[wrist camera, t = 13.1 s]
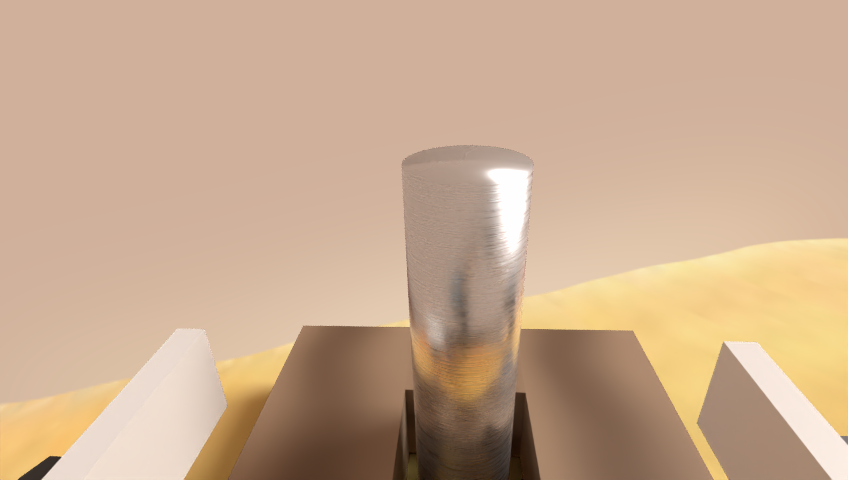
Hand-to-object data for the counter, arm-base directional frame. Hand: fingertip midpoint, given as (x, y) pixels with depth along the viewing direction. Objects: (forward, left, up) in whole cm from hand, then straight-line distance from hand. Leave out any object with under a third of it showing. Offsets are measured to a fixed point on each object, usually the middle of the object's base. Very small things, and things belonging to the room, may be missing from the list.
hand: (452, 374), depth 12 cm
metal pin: (0, -3, -10) cm, 11 cm away
